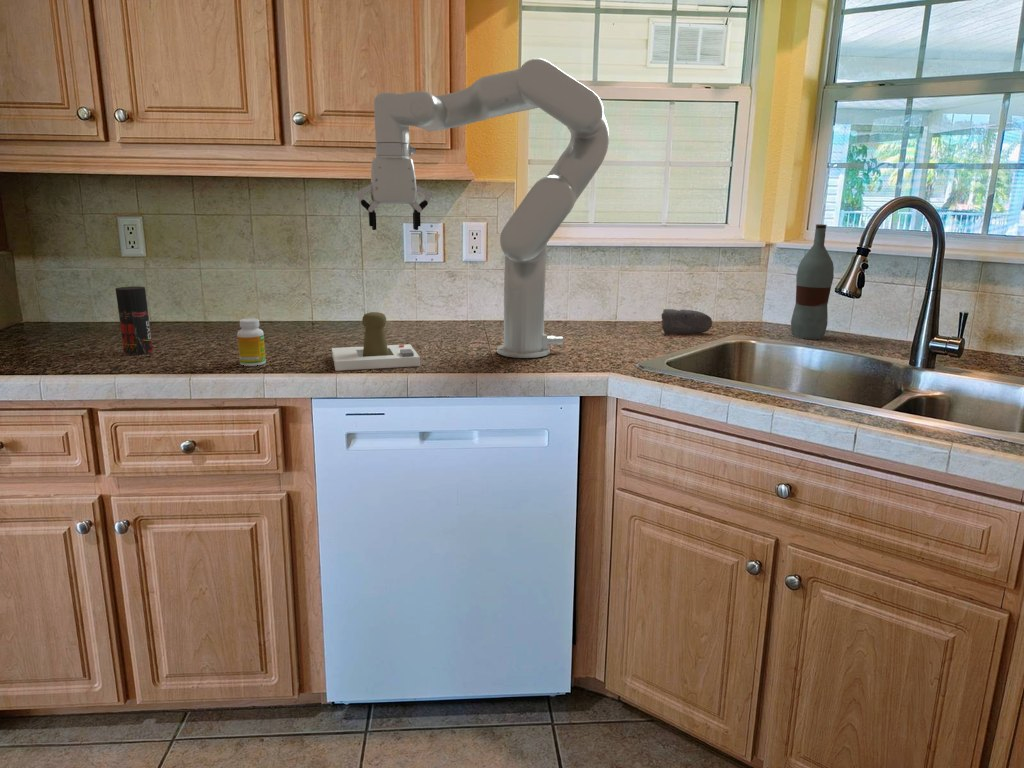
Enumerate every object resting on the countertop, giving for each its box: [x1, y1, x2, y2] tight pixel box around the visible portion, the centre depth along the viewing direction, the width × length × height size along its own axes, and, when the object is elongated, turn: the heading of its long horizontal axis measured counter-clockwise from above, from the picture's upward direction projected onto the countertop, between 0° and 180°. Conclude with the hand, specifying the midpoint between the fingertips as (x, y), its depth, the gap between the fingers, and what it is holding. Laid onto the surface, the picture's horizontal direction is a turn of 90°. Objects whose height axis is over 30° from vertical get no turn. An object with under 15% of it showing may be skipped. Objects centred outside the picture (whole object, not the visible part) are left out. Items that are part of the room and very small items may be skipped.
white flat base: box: [331, 343, 421, 372], centre depth 155 cm, size 18×14×3 cm
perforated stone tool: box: [660, 308, 713, 335], centre depth 191 cm, size 15×5×7 cm, turn 95°
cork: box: [361, 311, 389, 357], centre depth 154 cm, size 6×6×11 cm
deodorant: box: [115, 285, 154, 356], centre depth 159 cm, size 6×6×15 cm
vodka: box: [790, 223, 835, 340], centre depth 185 cm, size 9×9×30 cm
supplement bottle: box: [236, 318, 267, 367], centre depth 150 cm, size 5×5×10 cm
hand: (395, 229), depth 161 cm, fingers open, 9 cm apart
